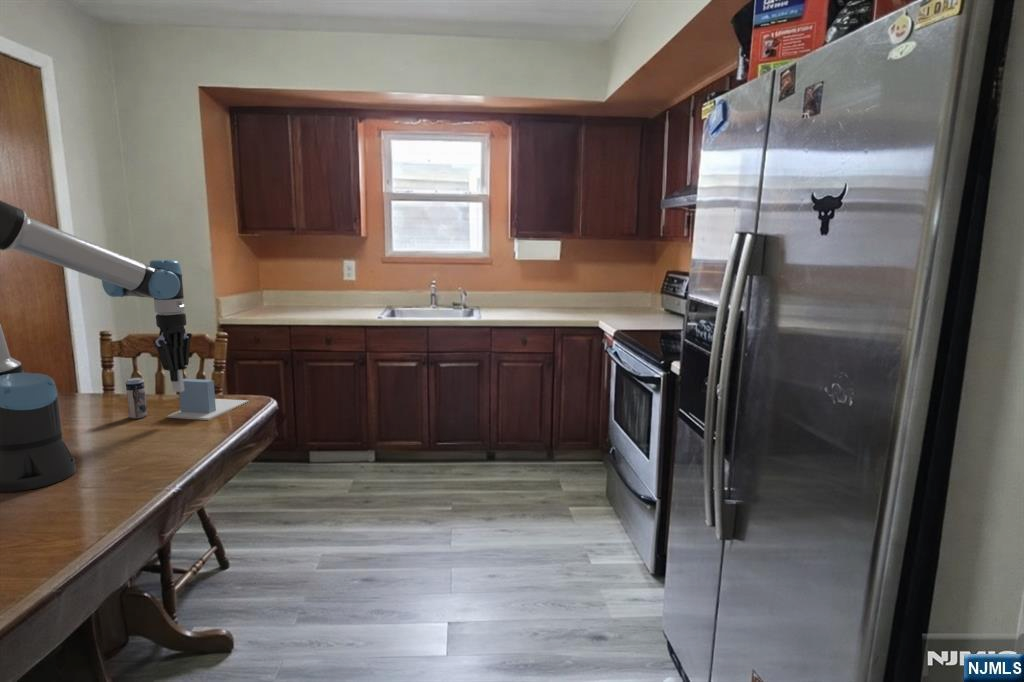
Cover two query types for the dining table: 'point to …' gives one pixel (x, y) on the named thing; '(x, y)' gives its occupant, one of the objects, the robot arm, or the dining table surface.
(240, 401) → the mat
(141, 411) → the beer can
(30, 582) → the dining table surface
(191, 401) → the block
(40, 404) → the robot arm
